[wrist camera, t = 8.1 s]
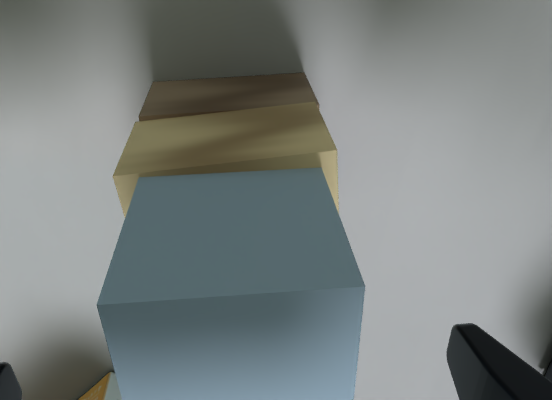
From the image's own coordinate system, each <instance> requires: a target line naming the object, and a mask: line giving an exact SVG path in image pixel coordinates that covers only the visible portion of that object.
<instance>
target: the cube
mask: <svg viewBox="0 0 552 400" xmlns="http://www.w3.org/2000/svg"><path fill="white" fill-rule="evenodd" d="M364 292H365V285H364V282H363V279H362V276H361V274H360V271H359V268H358V266H357V263H356V260H355V257H354V255H353V252H352V249H351V246H350V244H349V241H348V238H347V236H346V233H345V230H344V227H343V225H342V222H341V219H340V216H339V214H338V211H337V208H336V206H335V203H334V200H333V197H332V195H331V192H330V189H329V187H328V184H327V181H326V178H325V176H324V173H323V170H322V167H320V168H302V169H283V170H264V171H246V172H227V173H208V174H190V175H171V176H152V177H139V178H138V181H137V184H136V187H135V190H134V193H133V196H132V199H131V202H130V205H129V208H128V211H127V214H126V217H125V220H124V224H123V227H122V230H121V233H120V236H119V239H118V242H117V245H116V248H115V251H114V254H113V257H112V260H111V263H110V266H109V269H108V272H107V275H106V278H105V281H104V284H103V287H102V290H101V293H100V296H99V299H98V303H97V308H98V312H99V316H100V319H101V323H102V327H103V330H104V334H105V338H106V341H107V345H108V349H109V352H110V356H111V360H112V364H113V367H114V371H115V375H116V378H117V382H118V386H119V389H120V393H121V397H122V400H354V391H355V381H356V372H357V362H358V352H359V342H360V332H361V322H362V312H363V302H364Z"/></svg>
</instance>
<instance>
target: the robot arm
mask: <svg viewBox="0 0 552 400" xmlns="http://www.w3.org/2000/svg"><path fill="white" fill-rule="evenodd" d="M447 362H448V365H449V368H450V371H451V375H452V378H453V381H454V384H455V387H456V390H457V394H458V397H459V400H552V360H551V362H550V365H549V368H548V370H547V373H546V375H545V376H543V375H542V374H541V373H539V372H538V371H537V370H535V369H534V368H533V367H531V366H530V365H529V364H527V363H526V362H525V361H523V360H522V359H521V358H519V357H518V356H517V355H515V354H514V353H513V352H511V351H510V350H509V349H507V348H506V347H505V346H503V345H502V344H501V343H499V342H498V341H497V340H496V339H494V338H493V337H492V336H490V335H489V334H488V333H486V332H485V331H484V330H482V329H481V328H480V327H478V326H477V325H475V324H472V323H466V324H456V325H454V326H453V328H452V330H451V335H450V339H449V343H448V348H447ZM0 400H22V391H21V387H20V385H19V383H18V381H17V378H16V376H15V374H14V372H13V369H12V367H11V365H10V364H8V363H6V362H2V363H0Z"/></svg>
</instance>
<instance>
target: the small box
mask: <svg viewBox="0 0 552 400" xmlns="http://www.w3.org/2000/svg"><path fill="white" fill-rule="evenodd" d="M78 400H122V397H121V393H120V389H119V386H118V382H117V378H116V375H115V373H113V372H109V373H108V374H107V375H105V376H104V377H103V378H102V379H101V380H100V381H99V382H98V383H97V384H96V385H95V386H93V387H92V388H91V389H90V390H89V391H88V392H86V393H85V394H84V395H83V396H82V397H80V398H79V399H78Z"/></svg>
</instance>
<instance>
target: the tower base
mask: <svg viewBox="0 0 552 400" xmlns="http://www.w3.org/2000/svg"><path fill="white" fill-rule="evenodd" d="M307 102H315V103H316V105H317V107H318V109H319V103H318V101H317V99H316V97H315V95H314V92H313V90H312V88H311V86H310V84H309V82H308V80H307V78H306V75H305V73H289V74H273V75H257V76H241V77H224V78H208V79H192V80H176V81H159V82H153V83H152V85H151V88H150V90H149V93H148V95H147V97H146V100H145V102H144V105H143V107H142V109H141V112H140V114H139V121H148V120H157V119H166V118H174V117H183V116H192V115H201V114H210V113H219V112H227V111H236V110H245V109H254V108H263V107H272V106H281V105H289V104H298V103H307Z"/></svg>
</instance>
